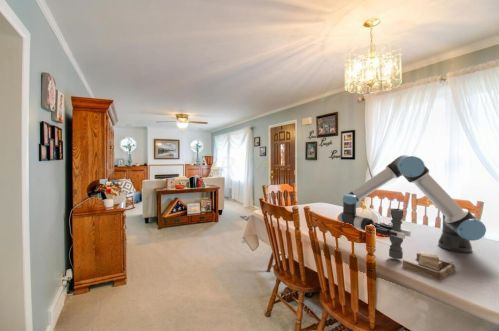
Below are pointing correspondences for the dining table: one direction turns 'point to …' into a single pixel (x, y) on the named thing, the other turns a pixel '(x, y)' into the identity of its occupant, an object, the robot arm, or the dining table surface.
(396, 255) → the candle holder
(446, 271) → the walnut caddy
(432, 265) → the offcut lower
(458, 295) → the dining table surface
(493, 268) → the dining table surface
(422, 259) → the offcut upper
